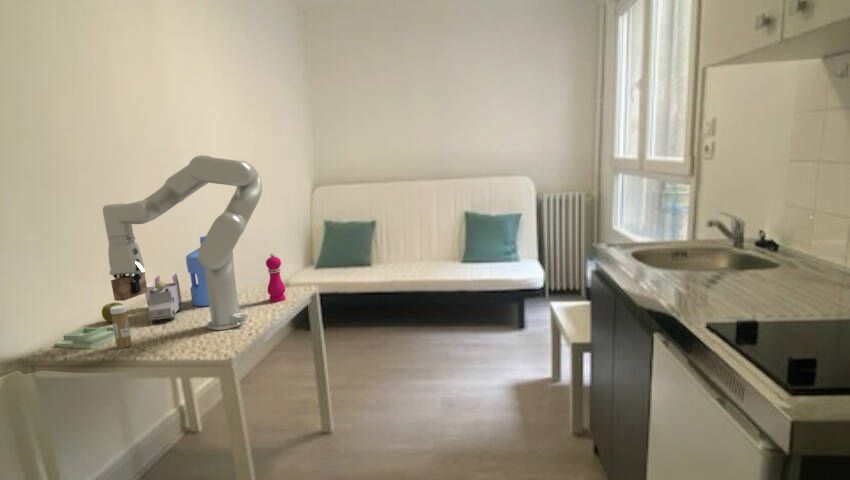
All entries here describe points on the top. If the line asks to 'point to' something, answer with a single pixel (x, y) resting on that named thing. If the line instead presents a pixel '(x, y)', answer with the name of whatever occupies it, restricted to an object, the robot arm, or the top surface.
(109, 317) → the apple
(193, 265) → the water jug
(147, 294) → the white cup
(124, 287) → the brown cuboid brick
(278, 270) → the pepper mill
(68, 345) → the jig
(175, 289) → the toy vehicle
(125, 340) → the sprinkles bottle
